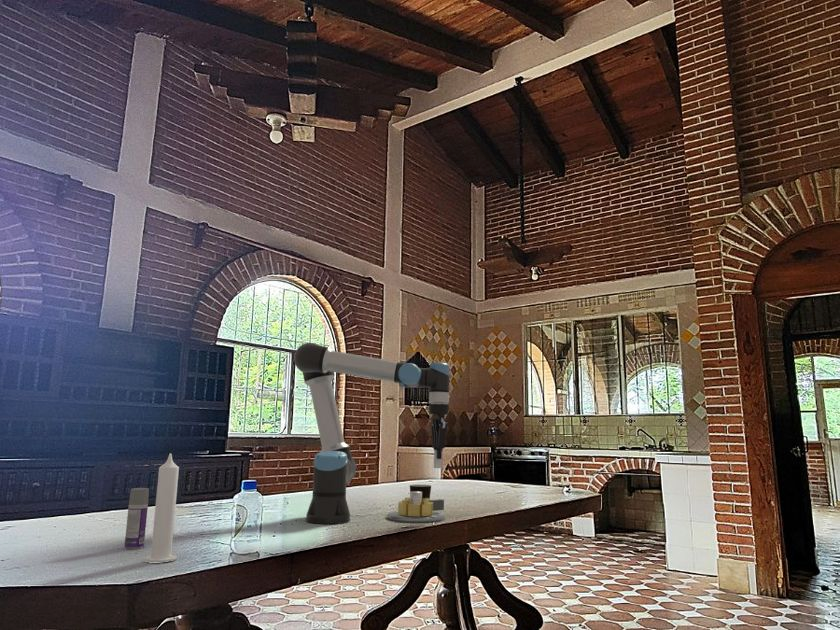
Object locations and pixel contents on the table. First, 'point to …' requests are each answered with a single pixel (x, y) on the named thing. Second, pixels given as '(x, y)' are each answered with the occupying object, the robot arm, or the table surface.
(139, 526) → the container
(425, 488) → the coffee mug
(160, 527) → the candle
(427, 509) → the toy block cluster
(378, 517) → the table surface
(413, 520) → the flange plate
